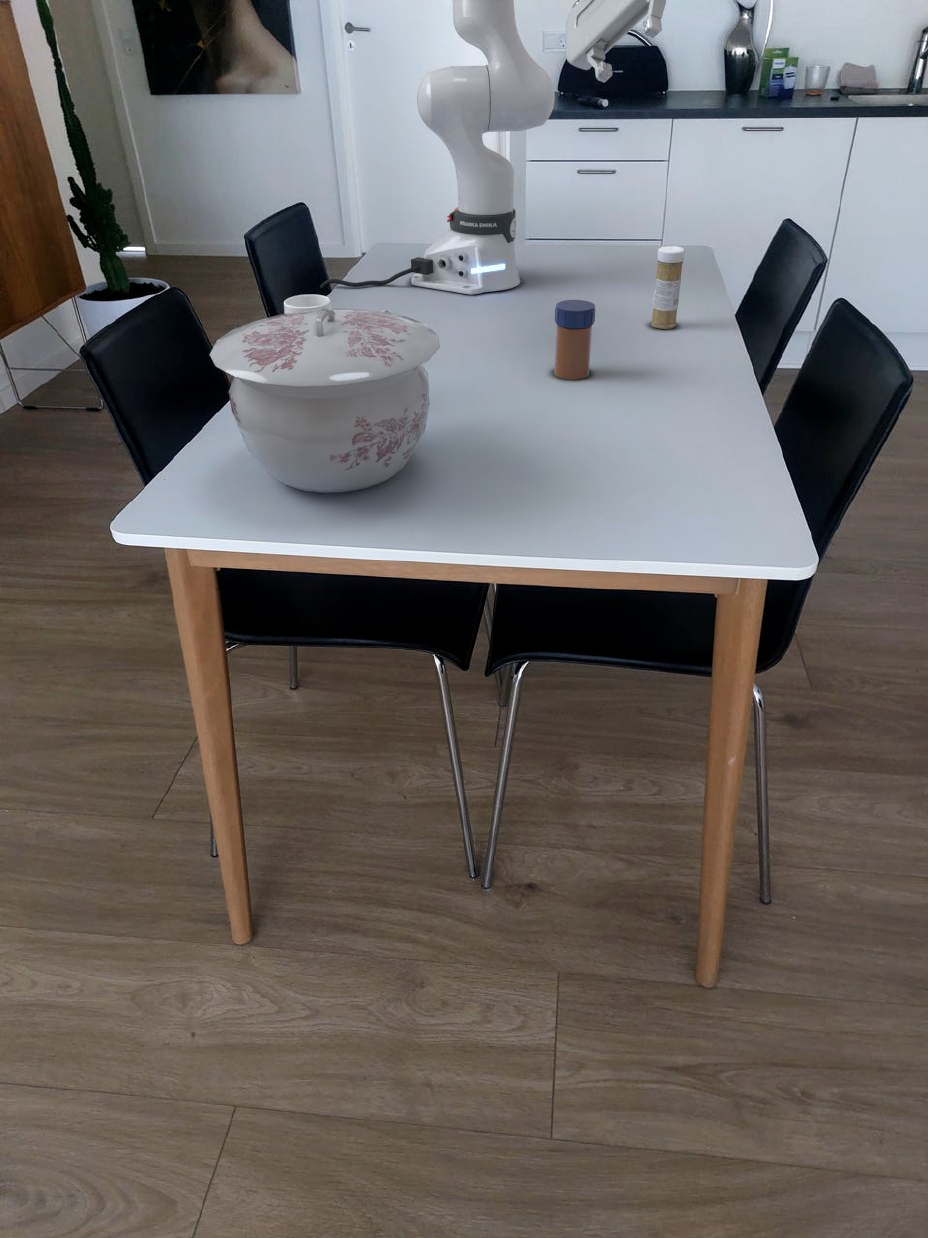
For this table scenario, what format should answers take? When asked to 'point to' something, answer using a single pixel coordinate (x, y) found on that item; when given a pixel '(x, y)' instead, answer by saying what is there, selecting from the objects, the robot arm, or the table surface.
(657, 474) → the table surface
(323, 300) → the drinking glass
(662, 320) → the sprinkles bottle
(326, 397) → the chamber pot
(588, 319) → the lid
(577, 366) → the brown cylinder
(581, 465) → the table surface
